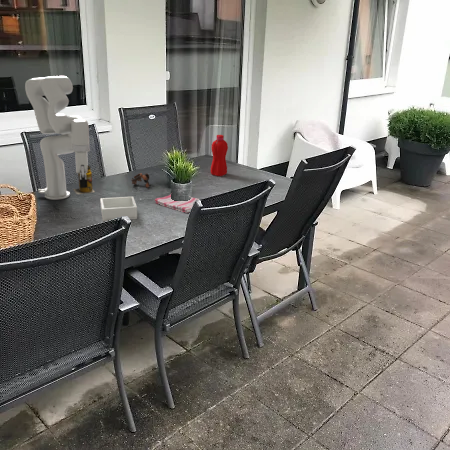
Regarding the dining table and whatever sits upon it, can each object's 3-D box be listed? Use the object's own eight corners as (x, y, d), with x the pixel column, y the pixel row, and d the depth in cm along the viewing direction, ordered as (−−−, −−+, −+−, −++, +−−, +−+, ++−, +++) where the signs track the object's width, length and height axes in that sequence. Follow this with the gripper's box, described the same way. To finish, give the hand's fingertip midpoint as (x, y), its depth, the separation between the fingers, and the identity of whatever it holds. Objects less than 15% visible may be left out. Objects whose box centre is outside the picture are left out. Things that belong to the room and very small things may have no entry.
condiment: (95, 192, 221) (94, 167, 216) (77, 194, 217) (75, 170, 212) (90, 187, 227) (88, 163, 222) (72, 189, 222) (70, 165, 217)
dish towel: (175, 195, 259) (175, 189, 257) (209, 206, 246) (209, 199, 245) (153, 203, 246) (153, 197, 245) (188, 215, 234) (188, 208, 232)
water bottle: (207, 175, 294) (208, 135, 284) (216, 171, 303) (217, 132, 293) (219, 178, 290) (220, 137, 280) (228, 174, 298) (230, 134, 289)
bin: (102, 221, 221) (102, 209, 218) (101, 209, 234) (100, 198, 232) (137, 218, 225) (136, 207, 223) (133, 207, 238) (133, 196, 236)
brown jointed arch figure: (145, 190, 265) (137, 178, 262) (134, 194, 271) (126, 182, 268) (156, 179, 274) (148, 167, 271) (145, 183, 279) (137, 172, 276)
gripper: (72, 142, 220) (75, 179, 227) (72, 152, 205) (75, 191, 212) (89, 142, 222) (91, 178, 229) (90, 152, 207) (92, 191, 214)
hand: (83, 184), depth 221 cm, fingers closed on condiment, 6 cm apart
